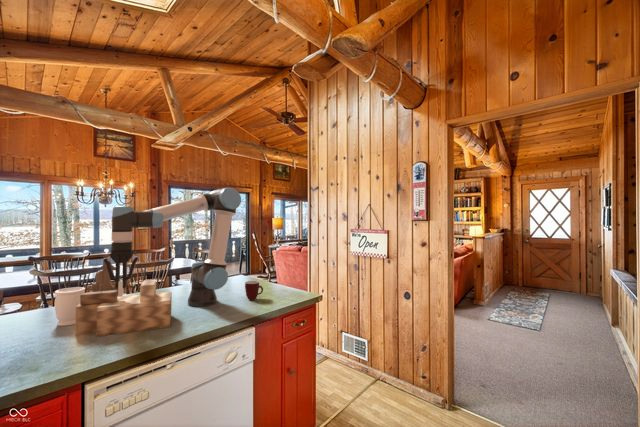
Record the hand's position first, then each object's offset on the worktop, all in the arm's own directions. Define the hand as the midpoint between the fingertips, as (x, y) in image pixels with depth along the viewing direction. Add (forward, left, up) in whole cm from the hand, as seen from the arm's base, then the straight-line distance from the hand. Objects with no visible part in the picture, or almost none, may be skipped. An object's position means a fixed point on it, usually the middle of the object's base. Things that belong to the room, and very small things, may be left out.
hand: (120, 295), depth 127 cm
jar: (+22, -15, -14) cm, 30 cm away
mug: (-62, -21, -14) cm, 67 cm away
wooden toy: (+13, -37, -14) cm, 42 cm away
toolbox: (-2, 0, -14) cm, 14 cm away
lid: (-6, 0, -4) cm, 7 cm away
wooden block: (+8, 0, -2) cm, 8 cm away
